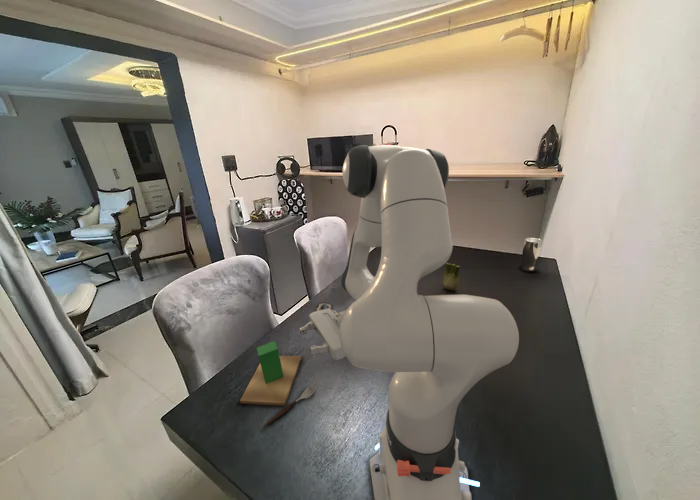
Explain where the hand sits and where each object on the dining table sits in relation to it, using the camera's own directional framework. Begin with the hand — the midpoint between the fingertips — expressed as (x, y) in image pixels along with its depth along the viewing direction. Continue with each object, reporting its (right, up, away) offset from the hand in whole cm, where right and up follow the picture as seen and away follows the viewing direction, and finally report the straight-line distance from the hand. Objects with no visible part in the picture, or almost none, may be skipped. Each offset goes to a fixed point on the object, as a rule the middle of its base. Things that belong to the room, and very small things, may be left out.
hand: (305, 340), depth 76 cm
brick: (-9, -9, -1) cm, 13 cm away
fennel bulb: (+25, +6, +25) cm, 36 cm away
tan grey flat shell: (+2, +3, +30) cm, 31 cm away
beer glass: (+98, +17, +50) cm, 112 cm away
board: (-9, -10, -1) cm, 14 cm away
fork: (-2, -13, -9) cm, 16 cm away
